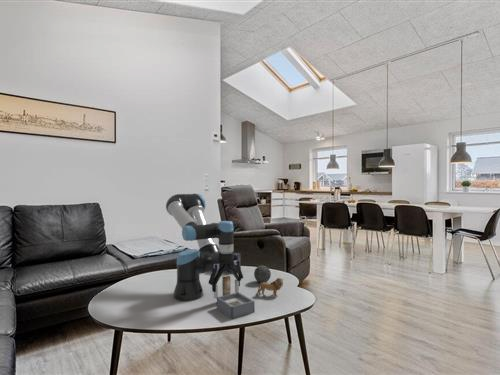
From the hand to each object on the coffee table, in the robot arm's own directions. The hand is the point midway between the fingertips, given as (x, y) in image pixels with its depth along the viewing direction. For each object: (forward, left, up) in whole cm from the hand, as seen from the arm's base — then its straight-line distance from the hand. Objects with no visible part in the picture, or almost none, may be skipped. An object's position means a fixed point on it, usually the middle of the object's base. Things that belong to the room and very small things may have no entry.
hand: (226, 295), depth 148 cm
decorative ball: (-13, +32, -3) cm, 34 cm away
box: (+12, -2, -3) cm, 12 cm away
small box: (-45, +28, -3) cm, 53 cm away
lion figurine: (+6, +23, -3) cm, 24 cm away
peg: (0, 0, -3) cm, 3 cm away
